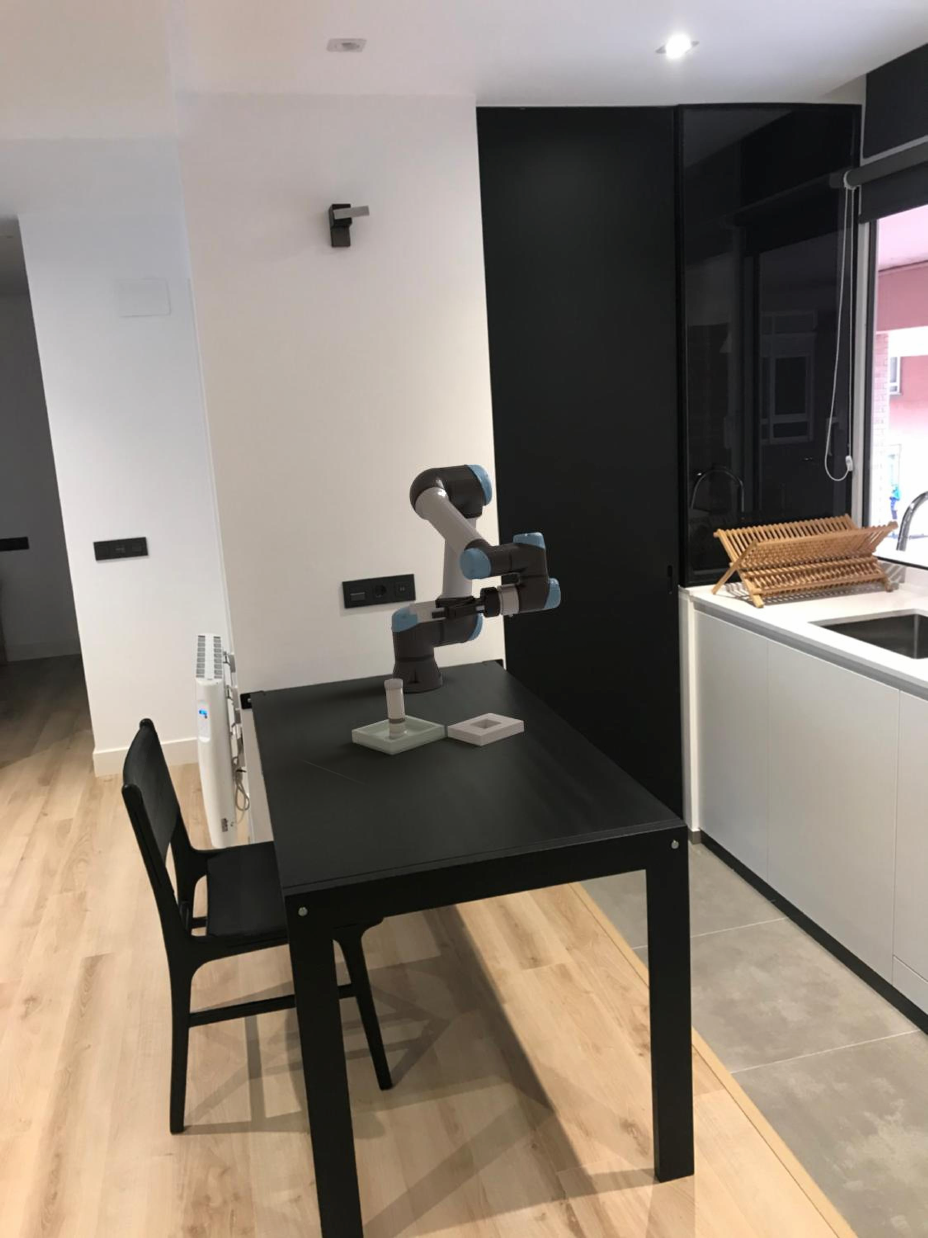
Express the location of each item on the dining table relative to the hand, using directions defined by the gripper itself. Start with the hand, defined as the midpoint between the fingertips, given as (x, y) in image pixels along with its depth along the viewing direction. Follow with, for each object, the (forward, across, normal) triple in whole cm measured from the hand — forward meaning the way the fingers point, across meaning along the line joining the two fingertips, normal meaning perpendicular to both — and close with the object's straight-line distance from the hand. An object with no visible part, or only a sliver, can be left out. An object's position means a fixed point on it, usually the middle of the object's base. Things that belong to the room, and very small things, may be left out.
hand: (413, 613), depth 245 cm
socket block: (-13, -9, -30) cm, 34 cm away
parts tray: (+8, -5, -30) cm, 31 cm away
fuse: (+8, -5, -29) cm, 30 cm away
